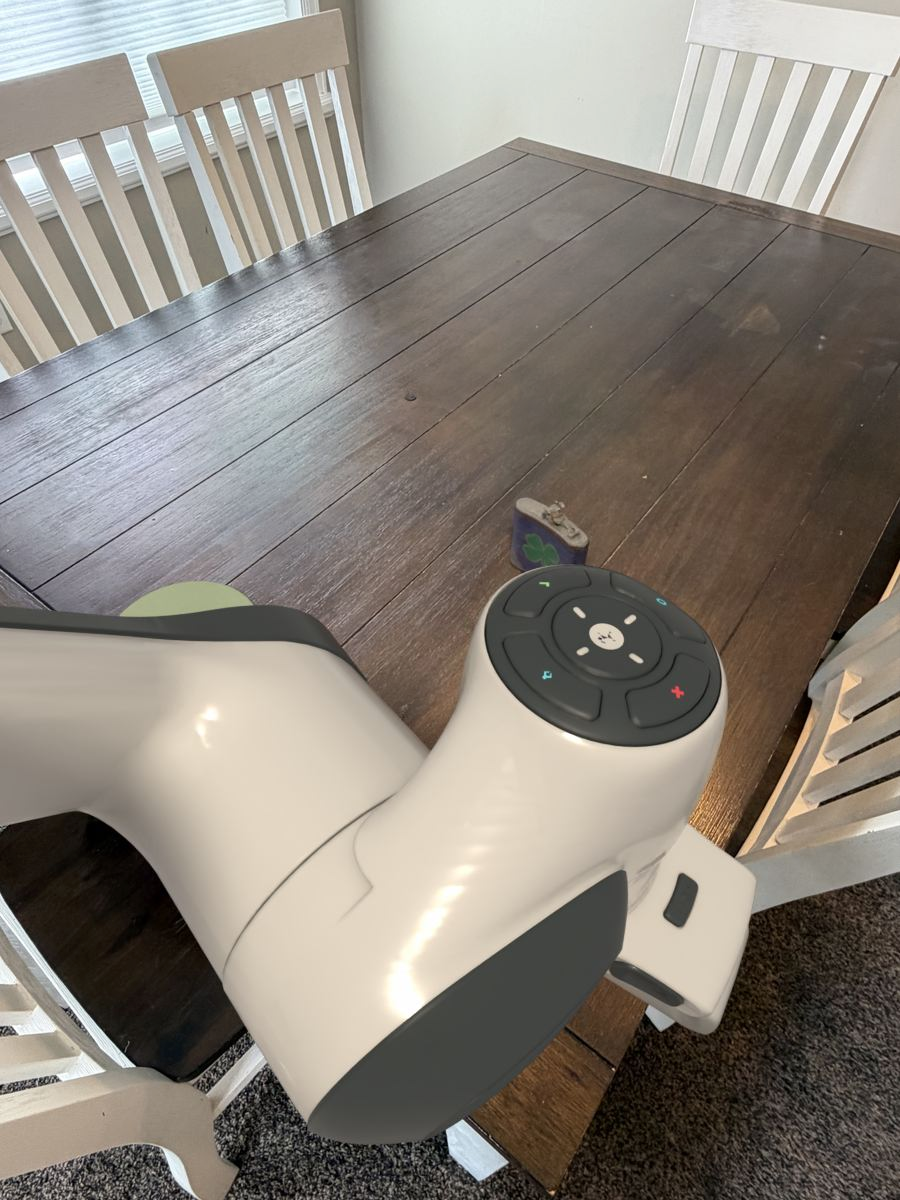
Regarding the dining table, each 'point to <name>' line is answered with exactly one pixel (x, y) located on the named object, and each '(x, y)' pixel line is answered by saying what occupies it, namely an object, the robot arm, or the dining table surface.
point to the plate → (186, 599)
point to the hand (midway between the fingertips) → (530, 922)
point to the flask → (545, 537)
